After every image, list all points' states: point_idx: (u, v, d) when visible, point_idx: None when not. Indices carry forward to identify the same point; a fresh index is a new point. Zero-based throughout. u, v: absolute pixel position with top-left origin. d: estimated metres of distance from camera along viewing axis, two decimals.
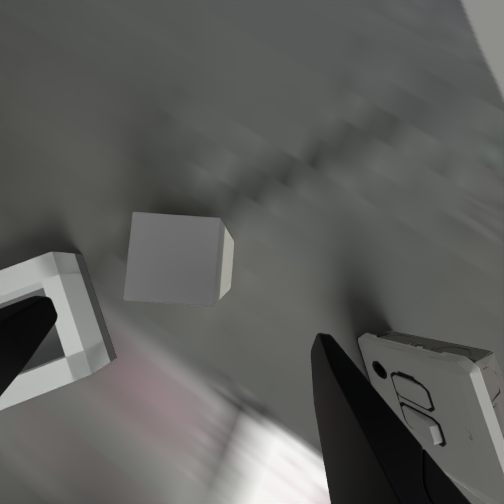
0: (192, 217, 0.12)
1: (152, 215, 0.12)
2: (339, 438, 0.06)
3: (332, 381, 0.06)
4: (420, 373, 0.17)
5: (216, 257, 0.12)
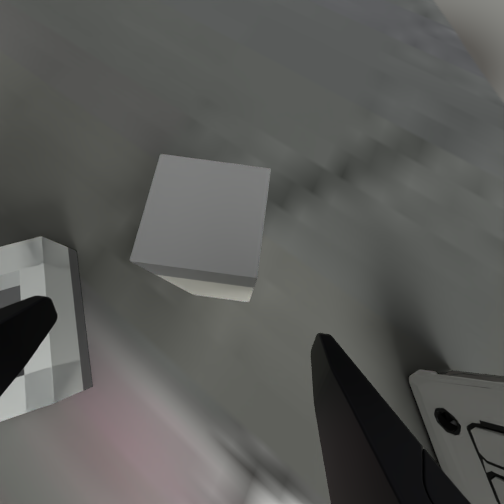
0: (235, 165, 0.09)
1: (184, 159, 0.09)
2: (339, 438, 0.06)
3: (332, 381, 0.06)
4: None
5: (264, 214, 0.09)
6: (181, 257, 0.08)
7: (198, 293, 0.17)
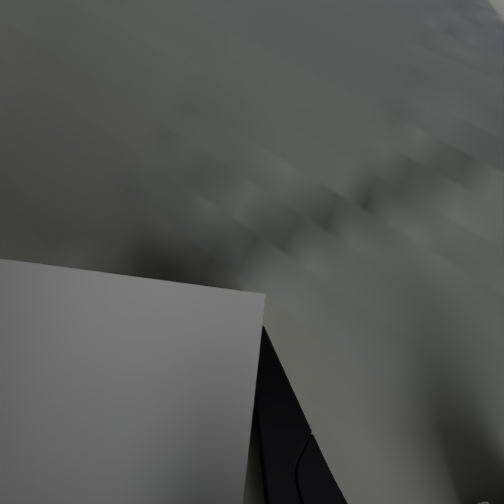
0: (180, 287, 0.04)
1: (57, 273, 0.04)
2: None
3: None
4: None
5: (247, 433, 0.03)
6: None
7: None
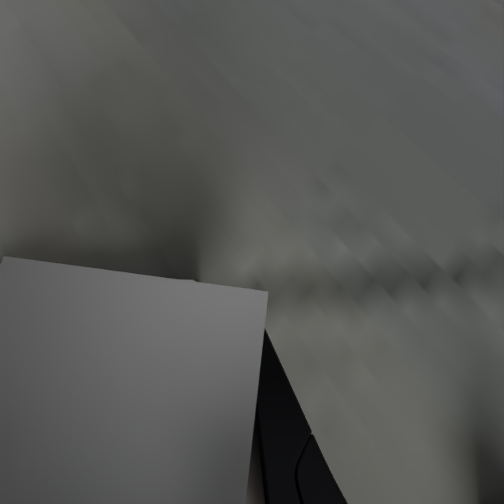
0: (183, 284, 0.04)
1: (61, 270, 0.04)
2: None
3: None
4: None
5: (250, 430, 0.03)
6: None
7: None
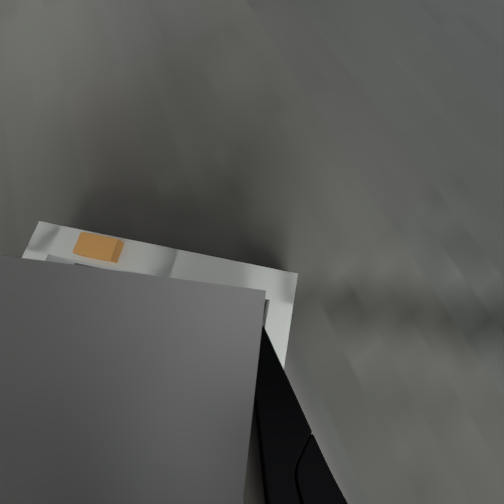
0: (181, 283, 0.04)
1: (58, 270, 0.04)
2: None
3: None
4: None
5: (248, 429, 0.03)
6: None
7: None
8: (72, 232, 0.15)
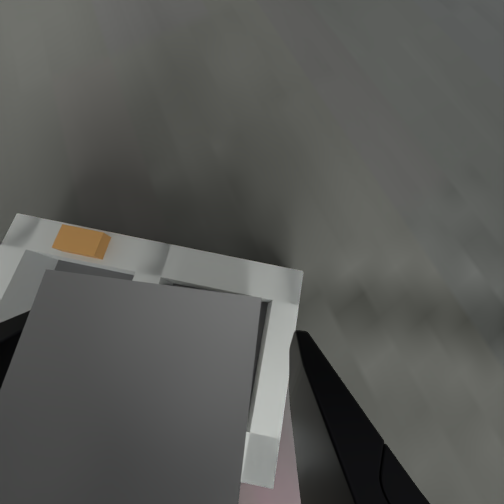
0: (192, 292, 0.05)
1: (93, 281, 0.05)
2: (308, 434, 0.06)
3: (303, 377, 0.06)
4: None
5: (247, 407, 0.04)
6: None
7: None
8: (53, 225, 0.14)
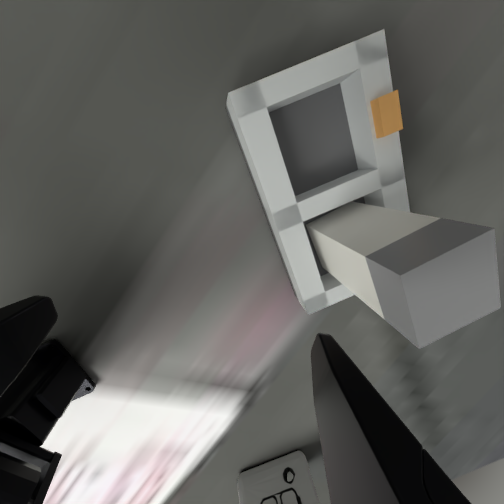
0: (498, 286, 0.11)
1: (493, 249, 0.10)
2: (339, 438, 0.06)
3: (332, 381, 0.06)
4: None
5: (462, 325, 0.12)
6: (415, 303, 0.11)
7: (316, 237, 0.19)
8: (386, 74, 0.15)
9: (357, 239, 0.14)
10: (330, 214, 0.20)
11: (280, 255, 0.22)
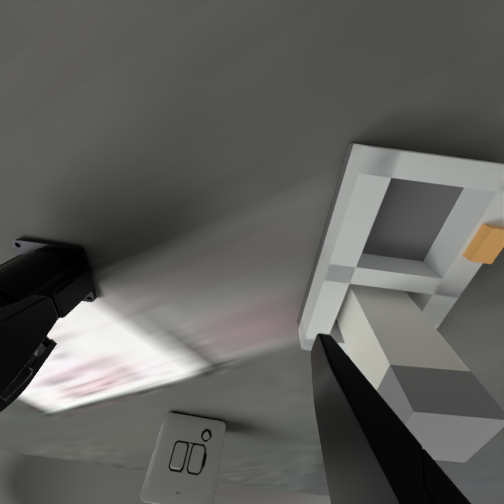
0: (476, 451, 0.12)
1: (496, 431, 0.12)
2: (339, 438, 0.06)
3: (332, 381, 0.06)
4: (206, 473, 0.31)
5: None
6: None
7: (350, 298, 0.20)
8: None
9: (389, 337, 0.15)
10: None
11: (307, 287, 0.23)
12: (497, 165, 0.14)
